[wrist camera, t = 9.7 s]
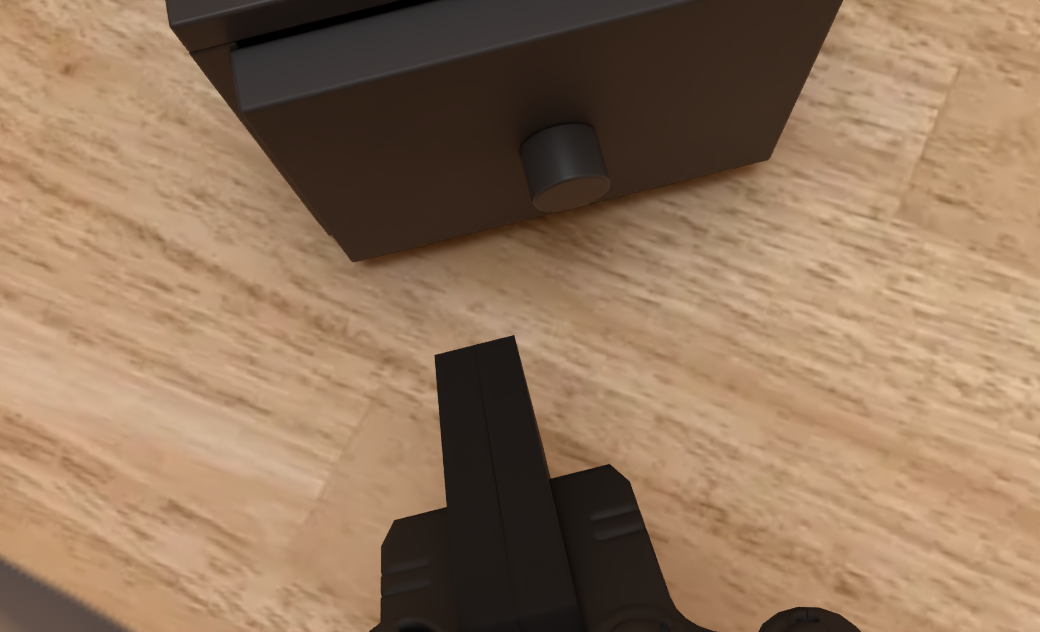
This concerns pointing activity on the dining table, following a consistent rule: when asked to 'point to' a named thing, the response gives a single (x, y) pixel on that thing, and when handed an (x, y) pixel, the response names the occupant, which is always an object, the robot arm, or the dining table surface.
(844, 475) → the dining table surface
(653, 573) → the robot arm
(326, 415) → the dining table surface
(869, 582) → the dining table surface
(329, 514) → the dining table surface
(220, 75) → the cabinet
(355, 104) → the drawer
